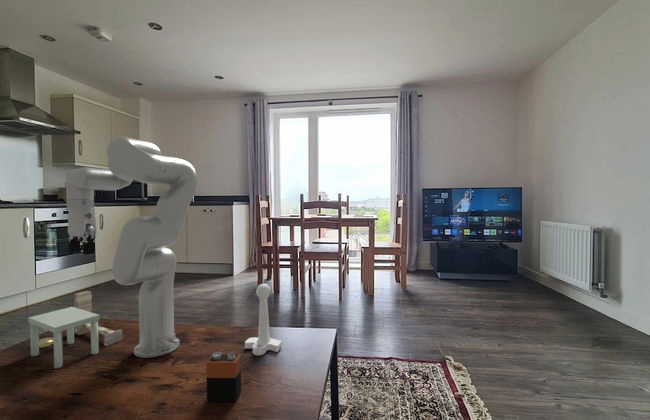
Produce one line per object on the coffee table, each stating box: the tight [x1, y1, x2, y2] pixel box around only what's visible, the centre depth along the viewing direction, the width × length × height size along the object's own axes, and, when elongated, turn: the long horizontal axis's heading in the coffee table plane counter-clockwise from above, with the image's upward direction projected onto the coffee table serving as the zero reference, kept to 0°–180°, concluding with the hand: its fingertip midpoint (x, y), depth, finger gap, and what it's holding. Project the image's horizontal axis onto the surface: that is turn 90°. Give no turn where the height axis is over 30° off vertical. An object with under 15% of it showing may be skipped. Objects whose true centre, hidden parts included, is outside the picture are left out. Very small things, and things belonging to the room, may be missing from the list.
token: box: [39, 337, 54, 349], centre depth 100 cm, size 5×5×2 cm
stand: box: [27, 306, 101, 369], centre depth 93 cm, size 17×11×12 cm, turn 62°
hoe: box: [73, 290, 124, 347], centre depth 105 cm, size 21×5×14 cm, turn 62°
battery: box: [205, 351, 242, 403], centre depth 71 cm, size 4×7×10 cm, turn 88°
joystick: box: [244, 283, 283, 356], centre depth 94 cm, size 11×8×20 cm
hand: (81, 252), depth 109 cm, fingers open, 9 cm apart
